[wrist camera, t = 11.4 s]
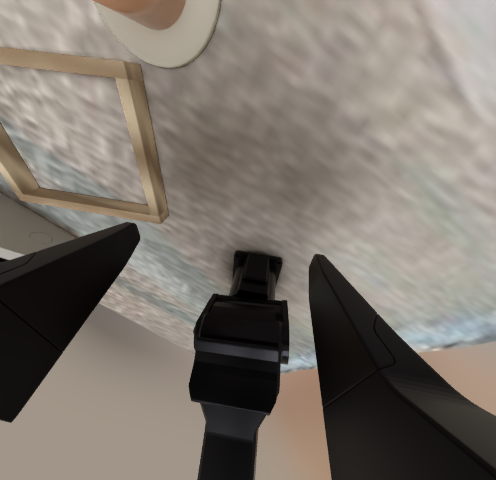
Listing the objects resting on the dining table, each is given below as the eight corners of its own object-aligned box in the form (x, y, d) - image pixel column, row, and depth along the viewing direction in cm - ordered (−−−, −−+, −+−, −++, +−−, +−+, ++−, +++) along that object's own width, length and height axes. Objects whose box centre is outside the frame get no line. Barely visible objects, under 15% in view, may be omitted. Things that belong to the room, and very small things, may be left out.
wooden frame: (168, 215, 24) (160, 223, 22) (37, 193, 25) (20, 200, 23) (140, 64, 15) (123, 61, 14) (-60, 41, 16) (-96, 36, 15)
